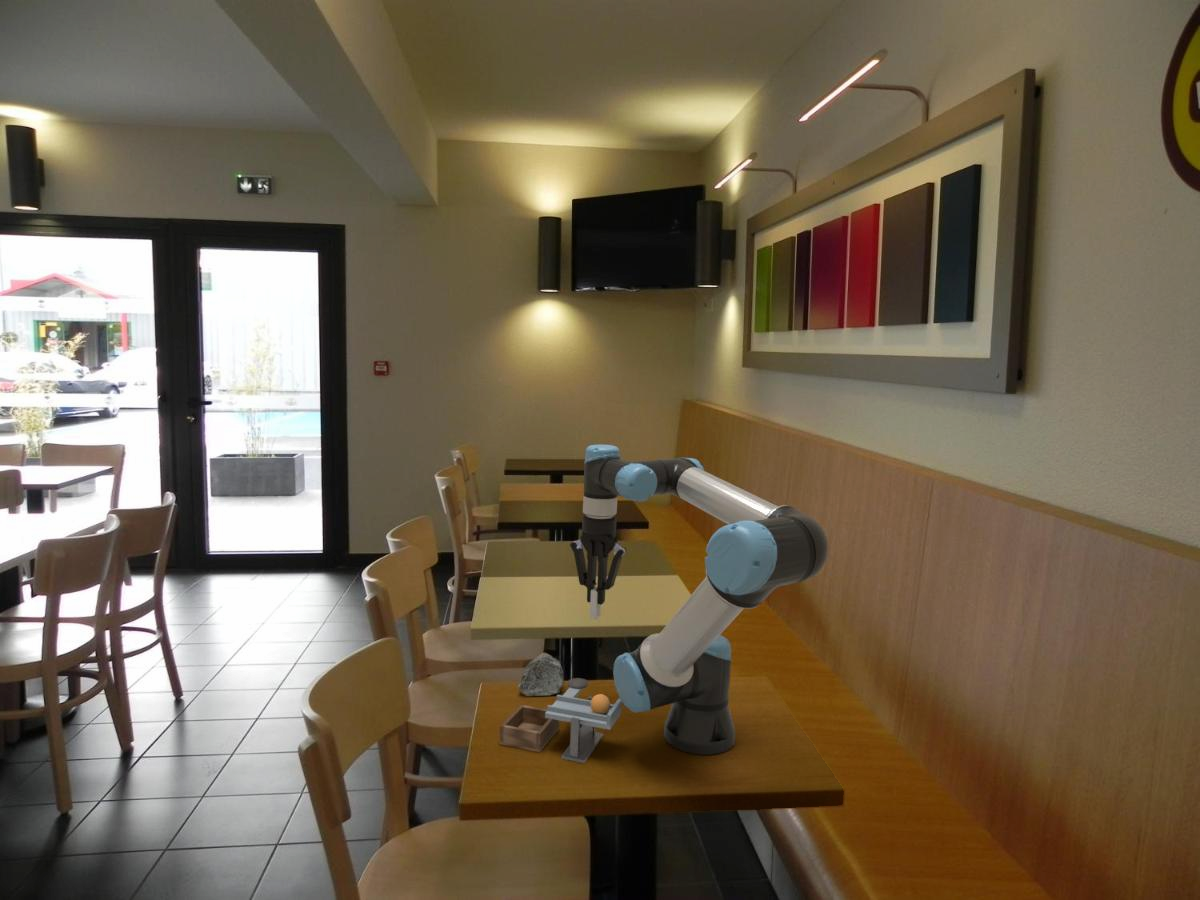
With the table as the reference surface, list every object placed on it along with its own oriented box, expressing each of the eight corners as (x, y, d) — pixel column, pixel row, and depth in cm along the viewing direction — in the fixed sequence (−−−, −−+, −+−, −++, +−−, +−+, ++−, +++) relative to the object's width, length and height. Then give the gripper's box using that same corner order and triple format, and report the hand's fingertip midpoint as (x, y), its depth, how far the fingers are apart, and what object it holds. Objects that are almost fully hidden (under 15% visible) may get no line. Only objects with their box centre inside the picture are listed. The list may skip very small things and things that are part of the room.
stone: (541, 658, 183) (552, 642, 193) (510, 681, 185) (522, 664, 195) (567, 691, 183) (576, 673, 193) (535, 713, 185) (545, 694, 195)
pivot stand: (603, 735, 168) (604, 697, 167) (584, 763, 157) (585, 722, 156) (581, 731, 170) (582, 694, 169) (561, 758, 158) (562, 718, 157)
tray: (558, 729, 171) (559, 711, 170) (539, 752, 161) (540, 733, 160) (520, 721, 173) (521, 704, 173) (499, 744, 163) (500, 726, 163)
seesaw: (634, 693, 173) (634, 680, 173) (609, 730, 156) (609, 716, 156) (571, 683, 178) (572, 670, 177) (541, 718, 160) (541, 704, 160)
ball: (612, 710, 162) (612, 692, 162) (606, 719, 159) (606, 700, 158) (593, 707, 164) (594, 689, 163) (587, 716, 160) (588, 697, 159)
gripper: (633, 515, 174) (628, 616, 177) (579, 507, 179) (575, 606, 182) (620, 522, 167) (615, 627, 171) (565, 514, 172) (561, 616, 176)
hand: (595, 616), depth 176 cm, fingers closed
